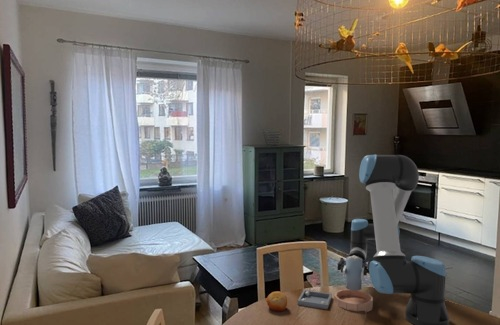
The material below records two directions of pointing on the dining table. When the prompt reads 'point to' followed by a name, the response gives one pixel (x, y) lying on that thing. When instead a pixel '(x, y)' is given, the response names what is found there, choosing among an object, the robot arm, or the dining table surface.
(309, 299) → the parts tray
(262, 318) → the dining table surface
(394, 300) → the dining table surface
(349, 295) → the bowl
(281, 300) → the fruit
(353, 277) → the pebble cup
